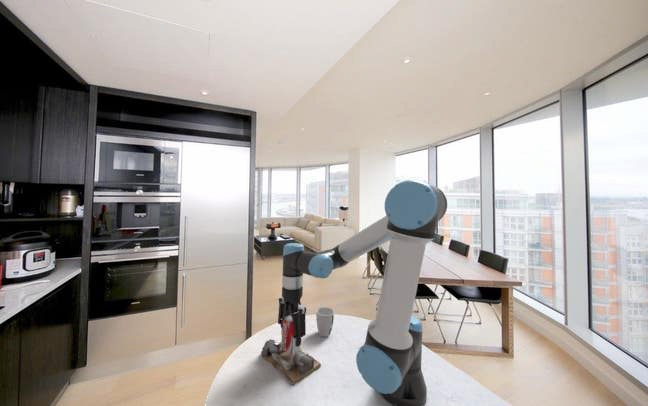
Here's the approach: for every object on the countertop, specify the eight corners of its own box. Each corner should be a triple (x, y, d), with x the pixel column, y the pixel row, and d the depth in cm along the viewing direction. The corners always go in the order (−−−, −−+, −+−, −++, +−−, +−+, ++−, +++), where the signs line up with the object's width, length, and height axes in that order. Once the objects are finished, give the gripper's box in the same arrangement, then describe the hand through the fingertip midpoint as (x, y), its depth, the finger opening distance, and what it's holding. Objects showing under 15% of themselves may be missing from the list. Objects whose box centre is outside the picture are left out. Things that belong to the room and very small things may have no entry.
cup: (333, 339, 99) (334, 315, 99) (314, 338, 99) (315, 315, 99) (333, 329, 107) (334, 307, 107) (315, 328, 107) (316, 306, 107)
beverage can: (295, 357, 81) (297, 322, 81) (279, 354, 82) (280, 320, 82) (301, 346, 87) (302, 314, 87) (285, 343, 88) (286, 312, 88)
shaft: (282, 350, 88) (283, 339, 88) (276, 359, 83) (276, 348, 83) (269, 347, 90) (269, 337, 90) (262, 356, 84) (262, 345, 84)
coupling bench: (320, 366, 81) (321, 352, 81) (293, 384, 73) (294, 368, 73) (287, 341, 96) (287, 329, 96) (261, 354, 87) (261, 340, 87)
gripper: (317, 291, 80) (315, 357, 80) (285, 277, 94) (283, 334, 94) (301, 296, 75) (298, 367, 75) (269, 281, 89) (267, 341, 88)
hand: (290, 349), depth 84 cm, fingers closed on beverage can, 6 cm apart
